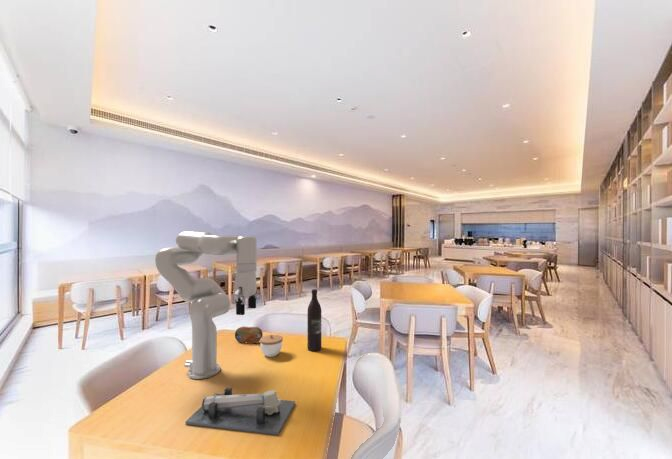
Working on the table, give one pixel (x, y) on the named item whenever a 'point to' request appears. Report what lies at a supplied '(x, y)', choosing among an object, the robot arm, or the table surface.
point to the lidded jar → (271, 345)
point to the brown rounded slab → (248, 334)
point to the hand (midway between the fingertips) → (246, 311)
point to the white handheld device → (245, 401)
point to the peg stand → (242, 417)
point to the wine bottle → (314, 323)
